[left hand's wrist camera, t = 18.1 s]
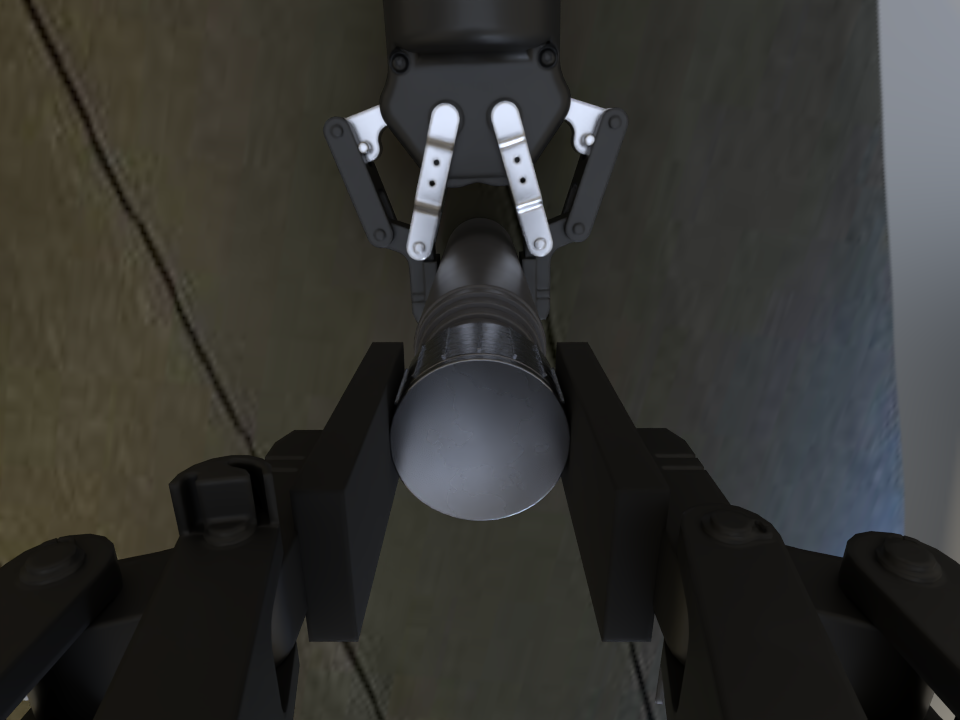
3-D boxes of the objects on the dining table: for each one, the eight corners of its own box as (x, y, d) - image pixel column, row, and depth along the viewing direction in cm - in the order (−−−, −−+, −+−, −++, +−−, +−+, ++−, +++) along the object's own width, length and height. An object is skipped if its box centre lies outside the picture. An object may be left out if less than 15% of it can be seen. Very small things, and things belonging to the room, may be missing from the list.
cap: (573, 336, 14) (593, 376, 11) (537, 473, 15) (548, 534, 13) (415, 307, 14) (401, 341, 11) (392, 448, 15) (376, 506, 12)
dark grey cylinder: (433, 261, 35) (352, 454, 13) (469, 203, 34) (450, 304, 12) (489, 297, 36) (505, 538, 13) (526, 242, 34) (611, 406, 12)
